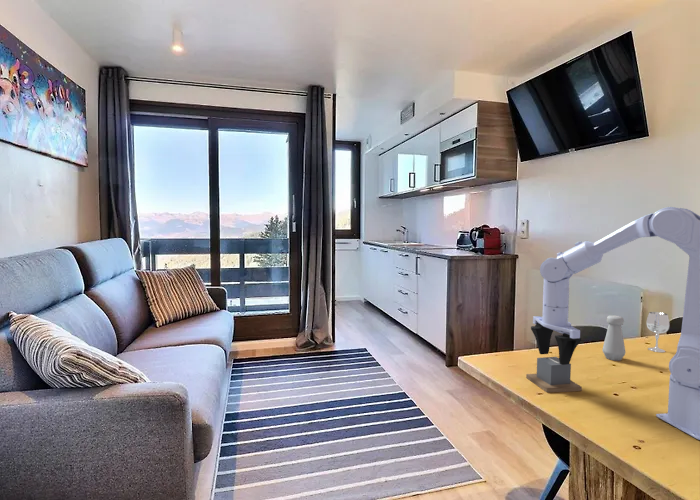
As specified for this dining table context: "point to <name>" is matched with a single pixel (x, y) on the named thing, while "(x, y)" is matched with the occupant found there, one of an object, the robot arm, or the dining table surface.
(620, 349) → the salt shaker
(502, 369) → the dining table surface
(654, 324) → the wineglass
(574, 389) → the base
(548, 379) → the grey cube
